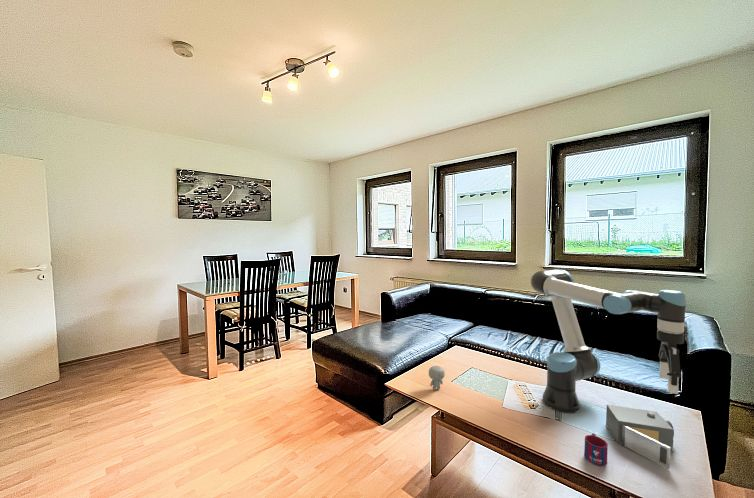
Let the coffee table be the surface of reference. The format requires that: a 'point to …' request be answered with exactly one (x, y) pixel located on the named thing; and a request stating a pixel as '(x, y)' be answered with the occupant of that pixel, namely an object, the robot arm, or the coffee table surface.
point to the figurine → (436, 376)
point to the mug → (596, 450)
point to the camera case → (639, 424)
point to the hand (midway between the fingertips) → (668, 385)
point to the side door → (646, 446)
